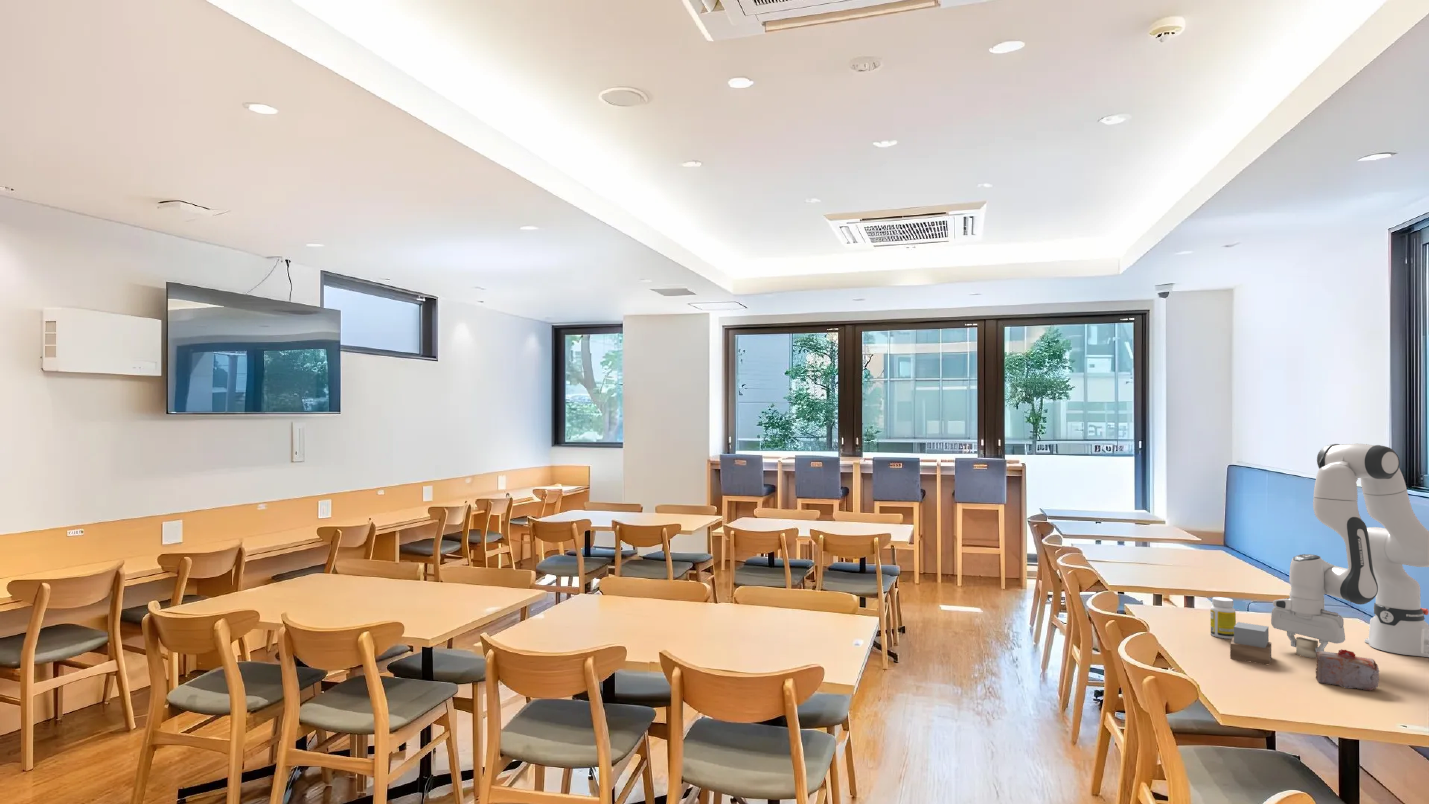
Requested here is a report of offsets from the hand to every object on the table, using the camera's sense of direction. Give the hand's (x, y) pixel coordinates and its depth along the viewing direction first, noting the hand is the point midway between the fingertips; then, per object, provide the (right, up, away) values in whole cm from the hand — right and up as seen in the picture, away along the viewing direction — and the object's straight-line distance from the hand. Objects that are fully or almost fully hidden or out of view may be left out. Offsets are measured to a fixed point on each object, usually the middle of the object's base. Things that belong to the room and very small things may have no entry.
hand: (1307, 650), depth 247 cm
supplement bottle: (-13, -2, +21) cm, 25 cm away
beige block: (0, -2, 0) cm, 2 cm away
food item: (-10, -1, -28) cm, 30 cm away
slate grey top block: (-20, +3, -3) cm, 21 cm away
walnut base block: (-20, -2, -3) cm, 21 cm away
